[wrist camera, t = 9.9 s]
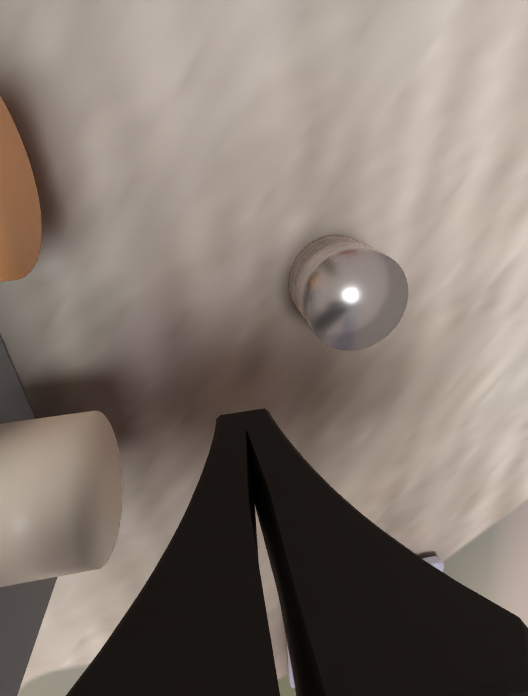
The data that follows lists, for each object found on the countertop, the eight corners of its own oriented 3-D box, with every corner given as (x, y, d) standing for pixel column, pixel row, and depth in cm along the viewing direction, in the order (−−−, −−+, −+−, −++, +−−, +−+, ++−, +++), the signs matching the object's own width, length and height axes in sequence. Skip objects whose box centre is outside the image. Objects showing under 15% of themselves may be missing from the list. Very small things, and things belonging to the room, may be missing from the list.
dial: (368, 313, 12) (402, 343, 10) (289, 324, 12) (308, 356, 10) (374, 230, 11) (413, 245, 9) (286, 239, 10) (307, 257, 8)
